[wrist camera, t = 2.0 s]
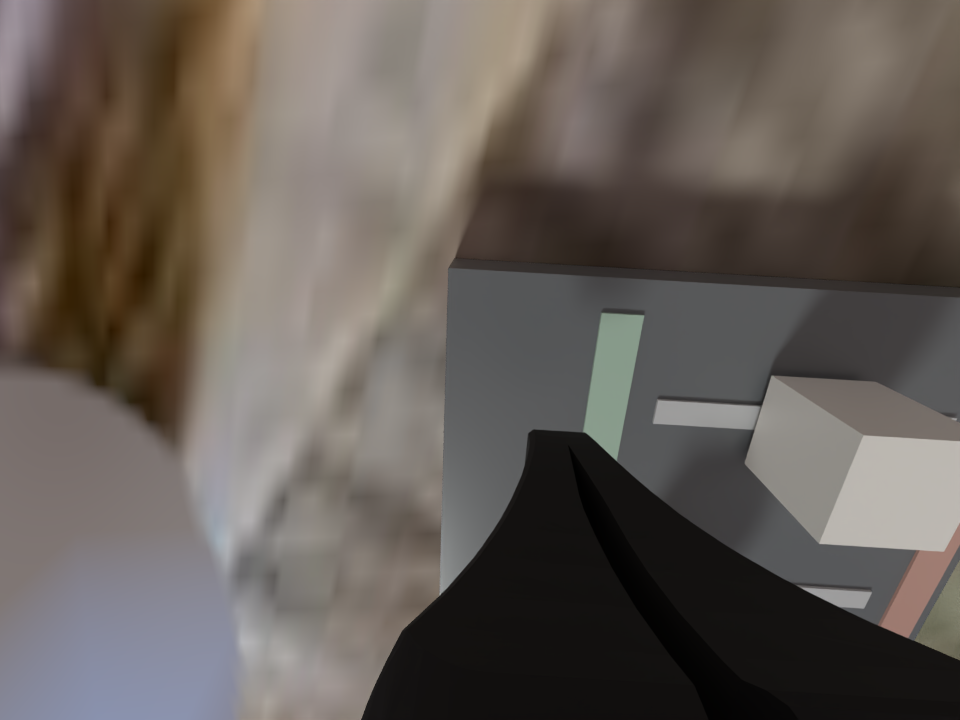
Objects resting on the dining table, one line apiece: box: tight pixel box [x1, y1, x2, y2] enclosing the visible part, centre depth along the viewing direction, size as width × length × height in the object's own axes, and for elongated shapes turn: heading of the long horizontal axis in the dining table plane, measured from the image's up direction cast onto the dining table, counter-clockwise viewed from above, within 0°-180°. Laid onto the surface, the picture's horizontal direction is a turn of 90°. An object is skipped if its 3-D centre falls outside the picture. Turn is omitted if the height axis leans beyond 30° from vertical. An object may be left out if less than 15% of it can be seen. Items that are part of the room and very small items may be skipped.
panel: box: [440, 258, 960, 641], centre depth 17 cm, size 18×22×2 cm
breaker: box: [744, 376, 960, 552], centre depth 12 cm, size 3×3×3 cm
